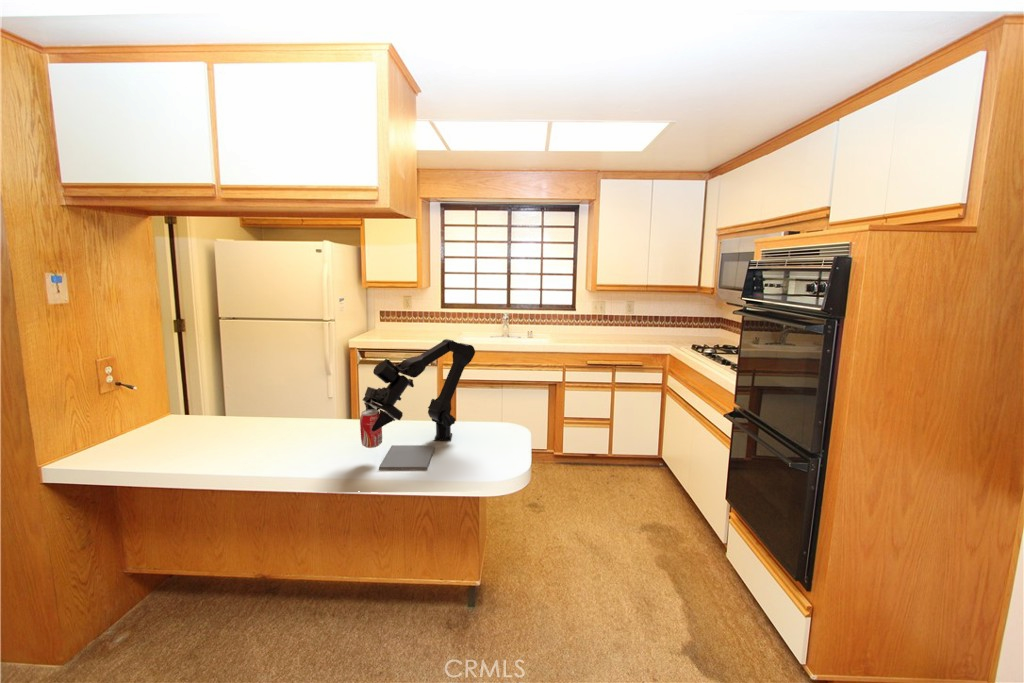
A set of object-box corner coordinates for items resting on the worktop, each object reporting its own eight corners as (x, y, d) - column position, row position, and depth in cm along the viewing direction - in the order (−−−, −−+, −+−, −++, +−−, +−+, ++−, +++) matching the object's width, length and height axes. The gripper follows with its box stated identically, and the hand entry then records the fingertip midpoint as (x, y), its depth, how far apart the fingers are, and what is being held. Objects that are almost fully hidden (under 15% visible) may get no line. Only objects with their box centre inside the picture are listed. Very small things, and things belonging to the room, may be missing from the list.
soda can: (363, 441, 160) (361, 409, 157) (384, 440, 161) (382, 408, 158) (359, 449, 153) (357, 416, 151) (380, 448, 154) (379, 415, 151)
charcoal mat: (391, 447, 168) (391, 445, 168) (434, 447, 169) (434, 445, 168) (379, 469, 150) (378, 466, 150) (427, 469, 151) (427, 466, 151)
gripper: (366, 373, 162) (338, 409, 156) (392, 383, 149) (363, 423, 143) (387, 389, 169) (361, 425, 163) (414, 400, 155) (387, 439, 150)
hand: (367, 428), depth 154 cm, fingers closed on soda can, 7 cm apart
